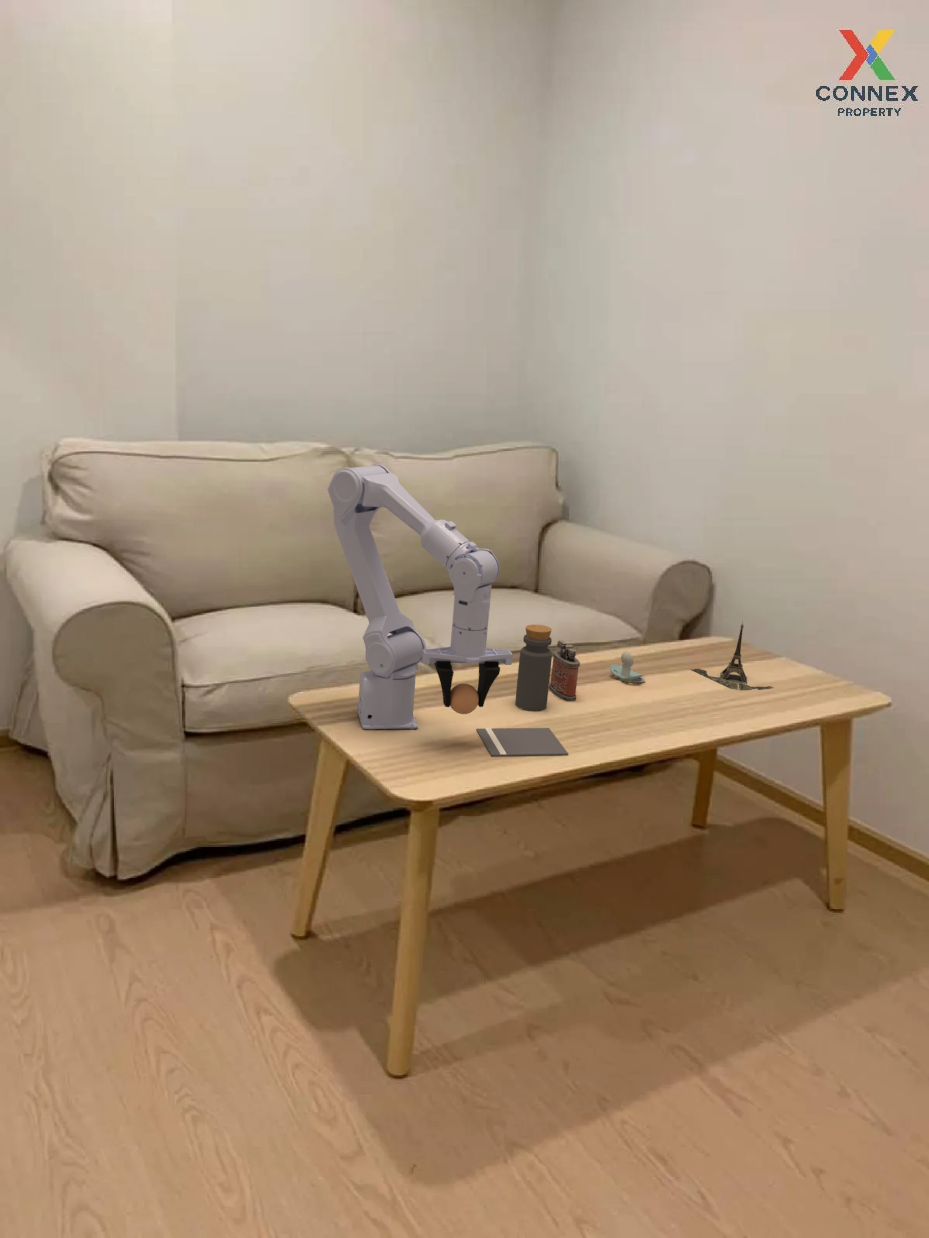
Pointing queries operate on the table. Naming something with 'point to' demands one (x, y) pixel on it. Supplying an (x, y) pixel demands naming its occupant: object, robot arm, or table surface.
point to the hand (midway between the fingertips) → (463, 704)
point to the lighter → (564, 672)
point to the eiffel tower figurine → (731, 679)
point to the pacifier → (626, 670)
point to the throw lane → (521, 742)
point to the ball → (464, 698)
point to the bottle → (534, 669)
